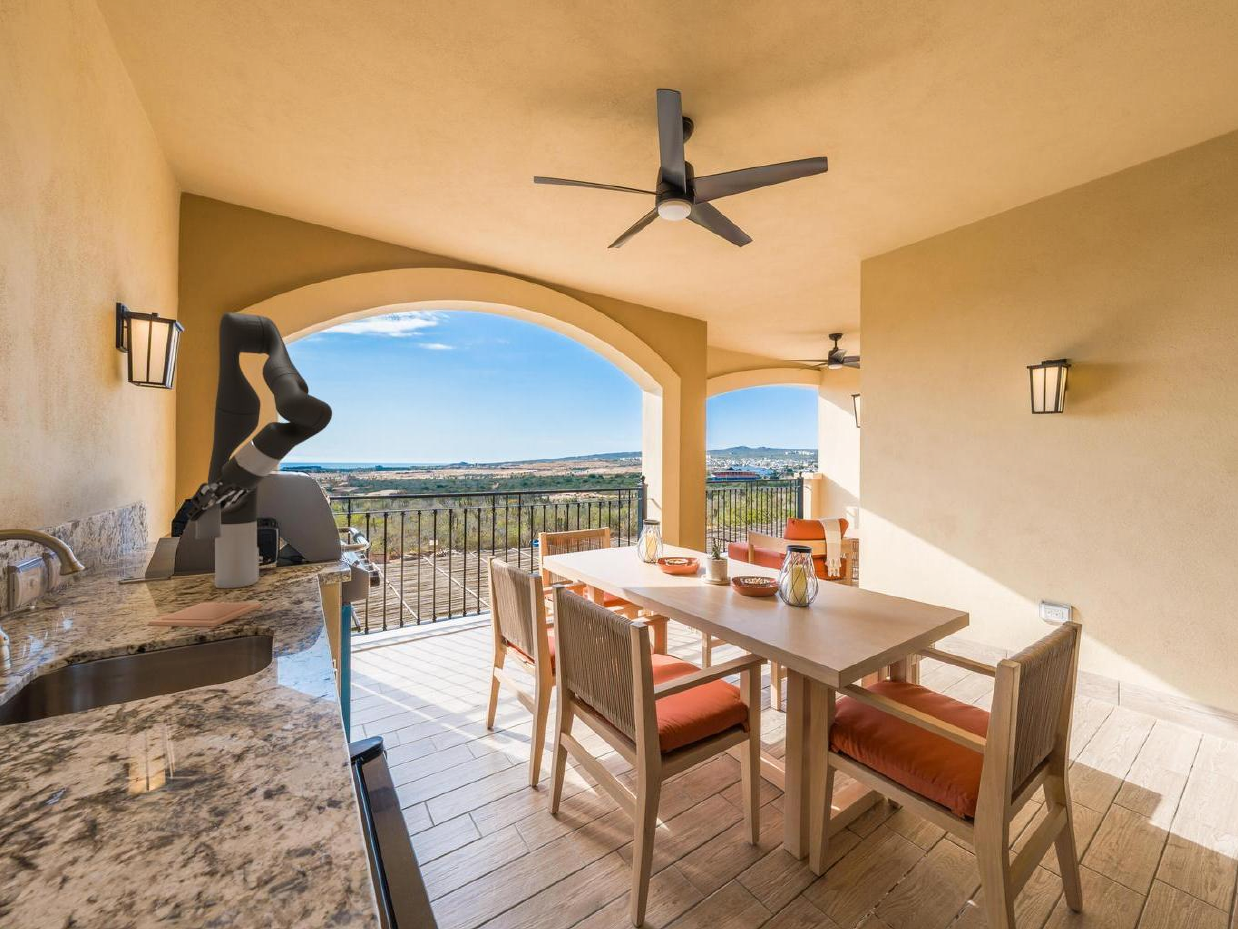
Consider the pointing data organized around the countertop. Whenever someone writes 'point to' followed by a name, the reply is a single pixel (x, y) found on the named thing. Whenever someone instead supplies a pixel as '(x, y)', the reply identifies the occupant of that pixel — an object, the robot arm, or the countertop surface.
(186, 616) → the coaster
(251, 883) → the countertop surface
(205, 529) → the grey tall block
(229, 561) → the robot arm
